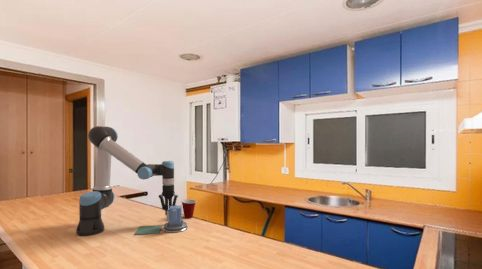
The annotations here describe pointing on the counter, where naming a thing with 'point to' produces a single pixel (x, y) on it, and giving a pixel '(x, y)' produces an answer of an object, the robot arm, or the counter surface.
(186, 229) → the turntable base
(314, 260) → the counter surface
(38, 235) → the counter surface
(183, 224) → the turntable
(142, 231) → the plate
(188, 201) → the plastic cup
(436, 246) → the counter surface
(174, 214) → the blue block
